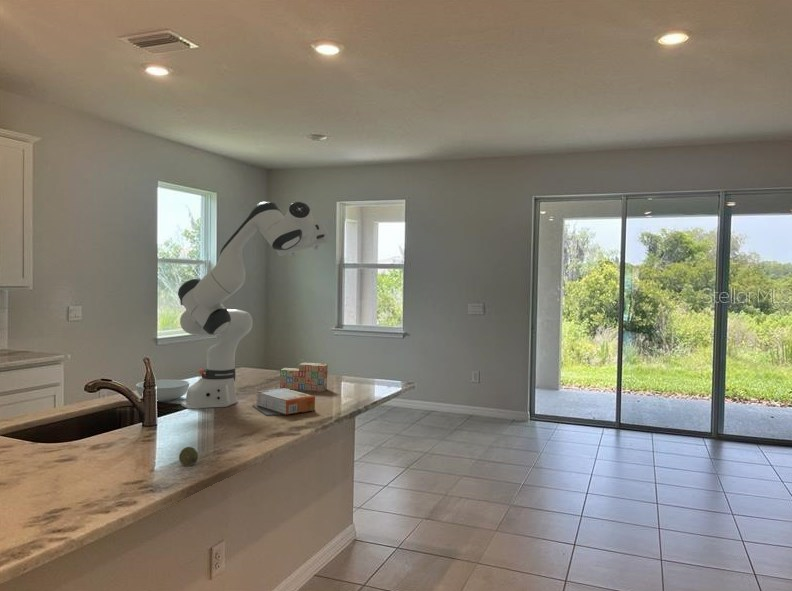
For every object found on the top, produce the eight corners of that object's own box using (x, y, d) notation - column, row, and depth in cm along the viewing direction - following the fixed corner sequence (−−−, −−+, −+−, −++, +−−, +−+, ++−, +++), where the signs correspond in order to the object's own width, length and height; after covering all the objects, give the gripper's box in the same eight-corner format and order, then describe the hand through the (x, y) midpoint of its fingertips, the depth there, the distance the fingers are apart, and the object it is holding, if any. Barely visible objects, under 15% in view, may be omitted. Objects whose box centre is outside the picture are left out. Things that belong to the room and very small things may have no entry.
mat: (266, 416, 224) (266, 414, 224) (252, 406, 240) (252, 405, 240) (315, 411, 235) (315, 409, 235) (298, 402, 250) (298, 400, 250)
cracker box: (315, 411, 234) (284, 401, 248) (315, 396, 234) (285, 386, 248) (285, 416, 224) (255, 405, 238) (286, 400, 224) (256, 390, 238)
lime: (200, 464, 166) (200, 447, 166) (184, 468, 163) (184, 450, 163) (192, 461, 169) (192, 443, 169) (176, 464, 166) (176, 447, 166)
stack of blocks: (279, 389, 276) (280, 363, 276) (283, 386, 283) (284, 361, 282) (323, 391, 273) (324, 365, 273) (327, 389, 280) (327, 363, 279)
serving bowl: (188, 393, 261) (188, 378, 261) (189, 403, 241) (190, 387, 241) (136, 395, 253) (137, 379, 253) (134, 406, 234) (134, 389, 234)
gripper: (276, 248, 210) (280, 266, 222) (331, 232, 214) (331, 251, 227) (271, 233, 212) (275, 252, 224) (325, 218, 216) (326, 237, 229)
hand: (304, 251), depth 226 cm, fingers open, 8 cm apart
